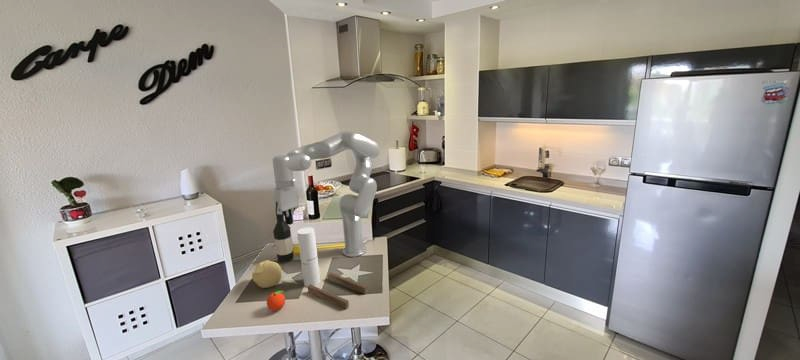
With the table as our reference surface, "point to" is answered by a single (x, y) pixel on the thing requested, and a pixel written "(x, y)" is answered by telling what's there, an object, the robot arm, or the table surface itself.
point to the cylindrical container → (308, 256)
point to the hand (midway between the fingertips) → (289, 223)
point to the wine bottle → (283, 240)
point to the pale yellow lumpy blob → (267, 274)
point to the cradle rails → (334, 298)
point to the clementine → (276, 301)
